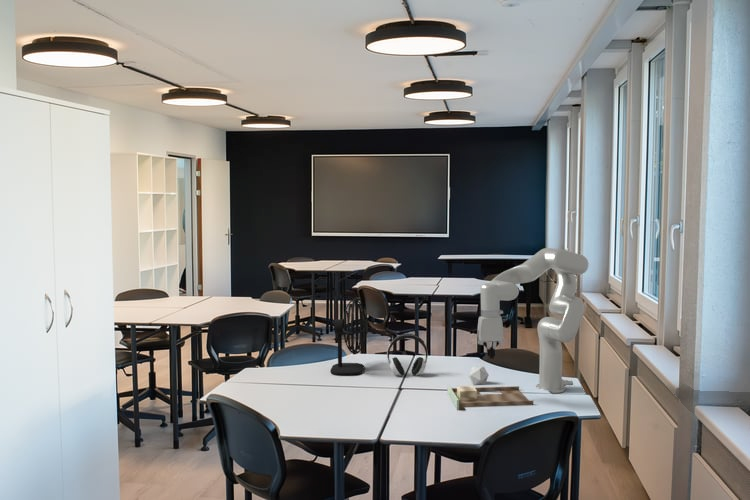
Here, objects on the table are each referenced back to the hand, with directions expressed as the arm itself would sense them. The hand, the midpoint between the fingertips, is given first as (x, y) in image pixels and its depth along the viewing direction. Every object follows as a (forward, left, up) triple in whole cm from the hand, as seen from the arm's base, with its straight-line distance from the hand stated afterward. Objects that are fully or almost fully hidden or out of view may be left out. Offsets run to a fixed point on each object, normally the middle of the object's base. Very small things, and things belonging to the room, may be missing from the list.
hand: (490, 357), depth 288 cm
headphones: (+29, -44, -18) cm, 56 cm away
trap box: (+1, 0, -18) cm, 18 cm away
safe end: (+16, 0, -18) cm, 24 cm away
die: (-1, -26, -18) cm, 32 cm away
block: (+10, 0, -17) cm, 19 cm away
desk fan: (+56, -56, -18) cm, 81 cm away
